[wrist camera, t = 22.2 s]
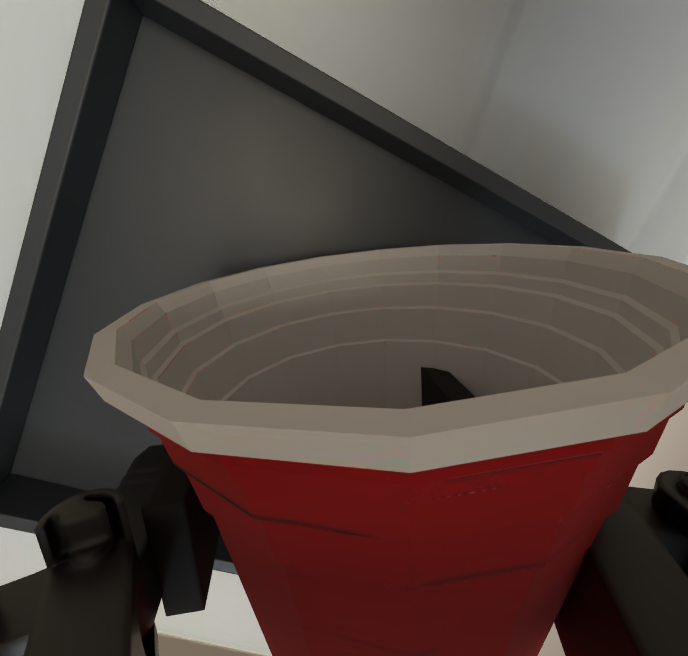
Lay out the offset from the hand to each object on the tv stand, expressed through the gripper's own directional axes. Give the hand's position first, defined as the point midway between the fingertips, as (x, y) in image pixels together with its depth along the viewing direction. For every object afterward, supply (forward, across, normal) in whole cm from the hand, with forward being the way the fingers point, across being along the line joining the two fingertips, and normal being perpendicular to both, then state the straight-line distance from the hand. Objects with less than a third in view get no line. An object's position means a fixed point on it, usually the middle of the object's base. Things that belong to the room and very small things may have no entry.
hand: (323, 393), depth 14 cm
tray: (+3, 0, 0) cm, 3 cm away
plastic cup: (-5, +1, -7) cm, 8 cm away
